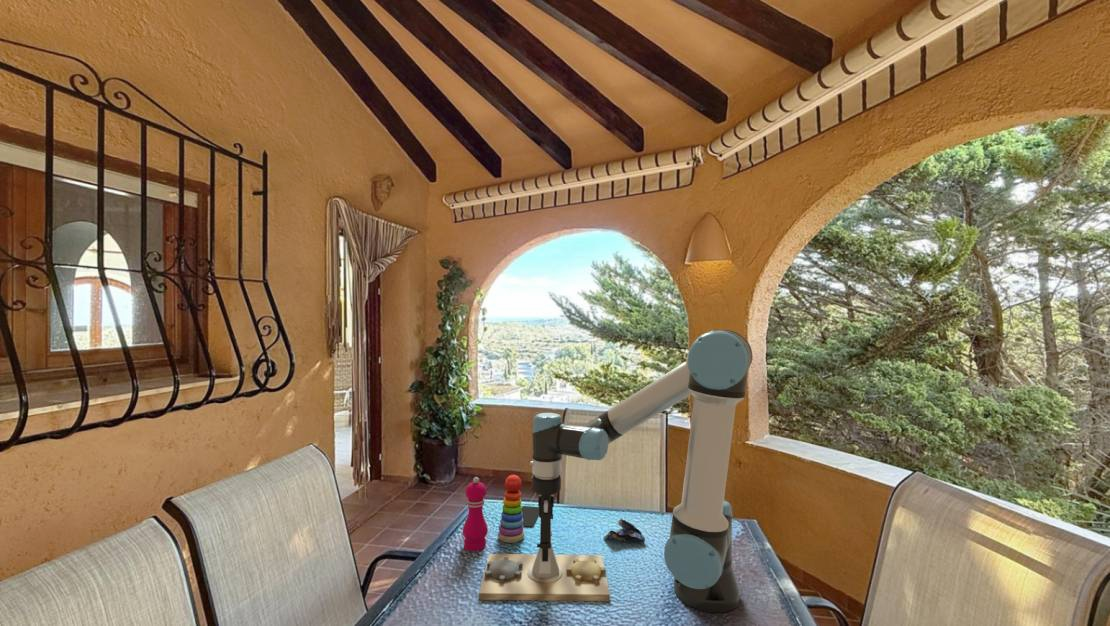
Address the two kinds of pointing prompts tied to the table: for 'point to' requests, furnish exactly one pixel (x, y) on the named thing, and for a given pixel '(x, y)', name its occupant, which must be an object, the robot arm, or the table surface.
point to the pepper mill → (475, 517)
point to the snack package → (626, 533)
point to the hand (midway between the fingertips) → (545, 558)
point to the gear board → (544, 579)
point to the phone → (530, 516)
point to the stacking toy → (511, 512)
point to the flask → (554, 565)
